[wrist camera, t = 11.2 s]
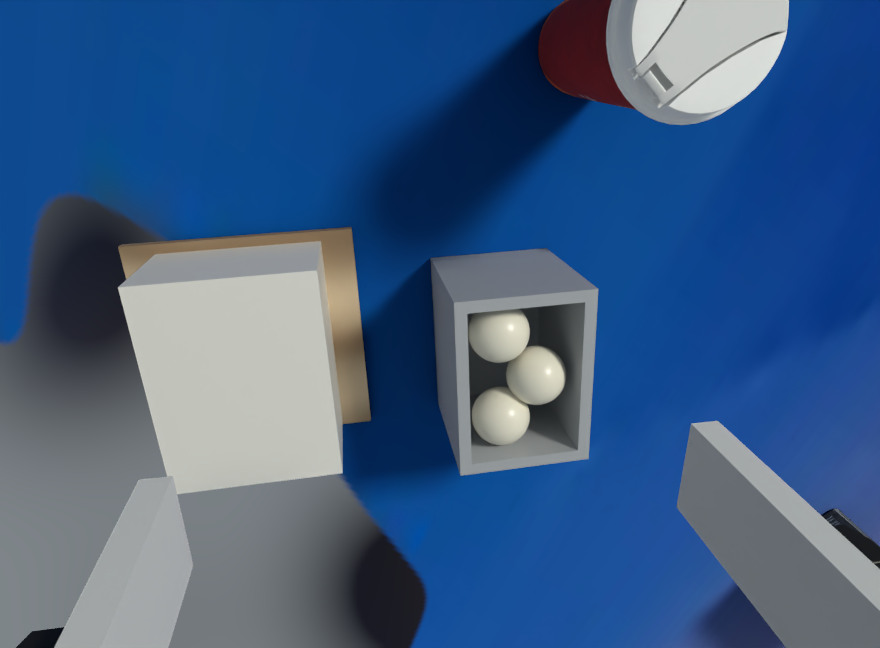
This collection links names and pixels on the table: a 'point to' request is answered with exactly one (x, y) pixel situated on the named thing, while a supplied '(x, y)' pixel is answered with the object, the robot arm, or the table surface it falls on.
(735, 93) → the paper cup
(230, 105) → the table surface
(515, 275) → the dough box
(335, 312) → the trivet
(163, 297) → the lid
